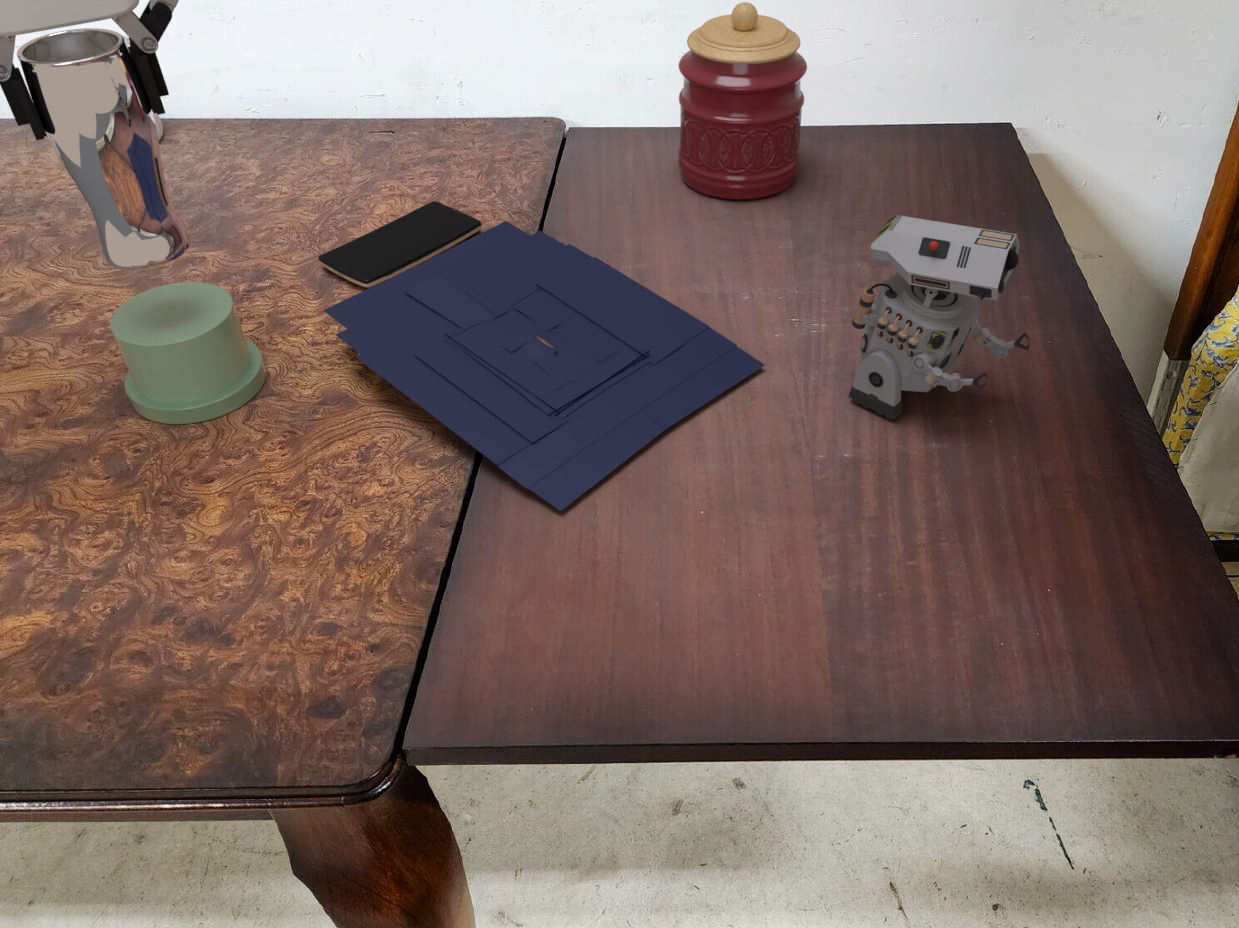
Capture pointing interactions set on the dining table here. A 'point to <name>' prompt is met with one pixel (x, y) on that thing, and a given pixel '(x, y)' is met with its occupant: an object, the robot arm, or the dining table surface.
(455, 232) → the smartphone
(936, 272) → the figurine
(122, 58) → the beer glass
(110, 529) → the dining table surface
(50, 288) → the dining table surface
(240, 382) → the flowerpot
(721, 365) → the papers
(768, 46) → the kitchen canister
